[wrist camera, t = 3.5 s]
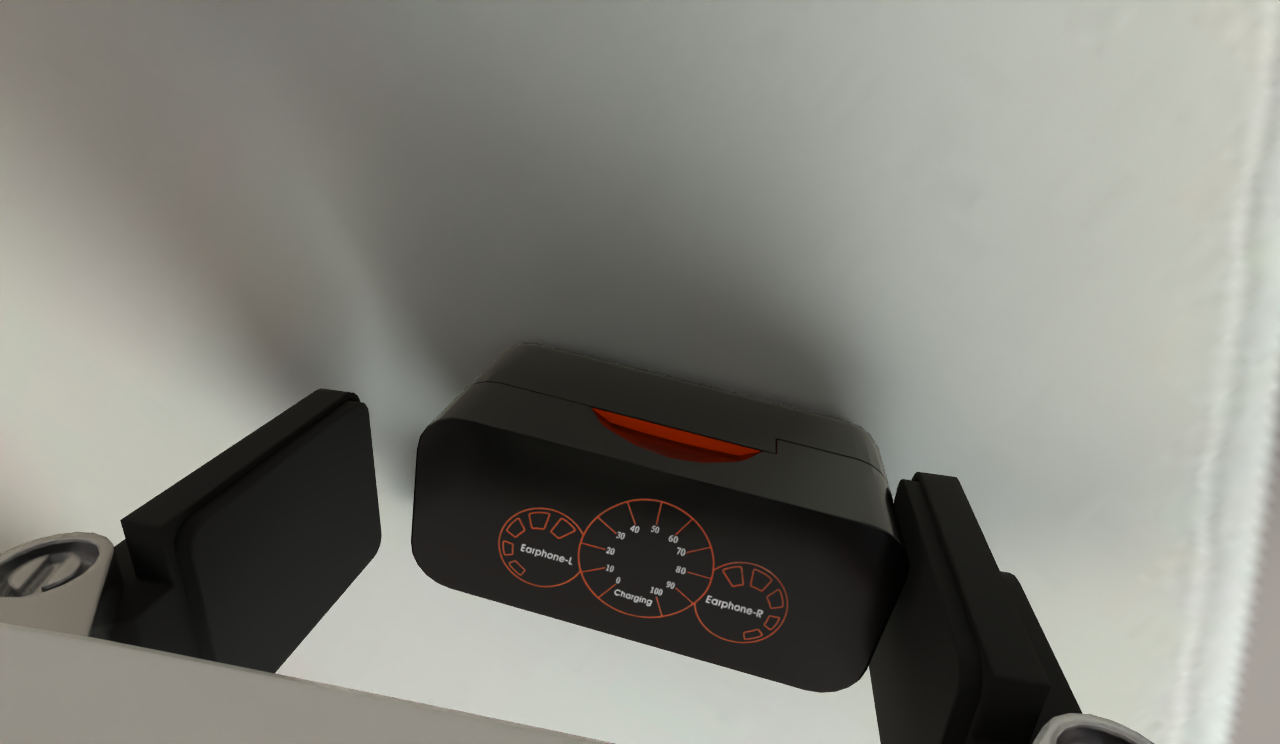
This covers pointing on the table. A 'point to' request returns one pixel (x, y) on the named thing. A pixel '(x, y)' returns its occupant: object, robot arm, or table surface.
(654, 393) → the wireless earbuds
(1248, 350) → the table surface
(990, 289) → the table surface
